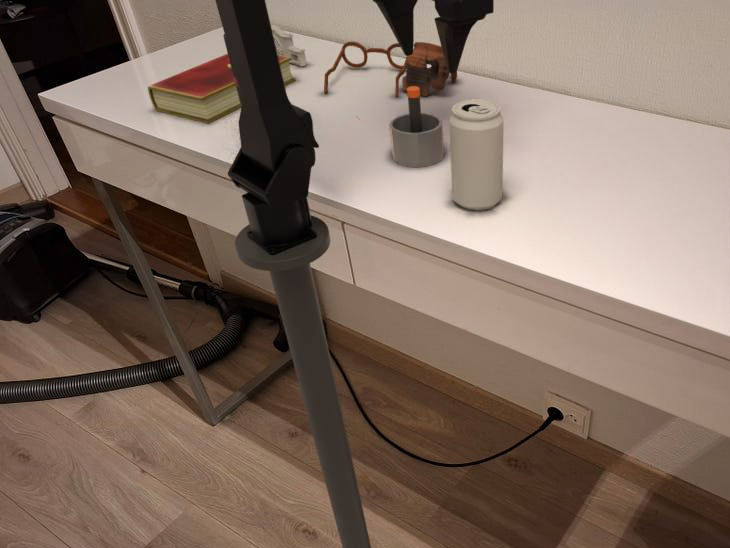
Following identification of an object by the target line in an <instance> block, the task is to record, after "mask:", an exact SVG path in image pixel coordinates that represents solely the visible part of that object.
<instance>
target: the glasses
mask: <svg viewBox="0 0 730 548" xmlns="http://www.w3.org/2000/svg"><path fill="white" fill-rule="evenodd" d="M351 46H353V47H357V48H358V49H359V50H361V51H362V53H363V61H362V62H360V63H354V62H351V60H349V59H348V58H347V55H346V49H347V48H348V47H351ZM396 48H401V47H400V45H399V43H398V42H396V43H392V44H391V45H389V46H388V47H387V49H385V48H381V47H369V48H366V47H365V46H364V45H363V44H361V43H360V42H357V41H346V42H344V44H343V45H342V46H341V49H340V51H339V54H338V55H337V56H336V57H337V58H336V59H335V61H334V64H333V65H332V67H331V68H328V70H327V71H326V72H325V73H324V83H323V93H324V94H328V92H329V91H328V89H329V76H330V75H331V74H332V73H333V72H335V71H336V70H337V69H338V66H339V64H340V62H341V60H342V59H343V61H344V63H345V64H346V65H348V66H349V67H352V68H355V69H360V68H363V67H365V66H366V65H367V62H368V54H369V53H381V54H385V55H386V58H387V60H388V63H389V64H390V65H391V66H392V67H393V68H395V69H397V70H400V71H399V72H398V73H397V74H396V76H395V84H394V85H395V91H394V92H395V93H394V95H395V98H398V97H399V91H400V90H399V88H400V87H399V86H400V79H401V77H402V76H403V75H405V74H406V70H407V69H406V67H407V64H408V63H407V61H406V60H407V59H406V58H405V61H404V64H403V65H400V64H397V63H395V62H394V60H393V59H392V55H391V52H392V50H393V49H396Z"/></svg>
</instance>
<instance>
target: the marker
mask: <svg viewBox="0 0 730 548" xmlns="http://www.w3.org/2000/svg"><path fill="white" fill-rule="evenodd" d="M406 95H407V103H408V114H409V116H410V129H411V133H419V132H422V120H421V113H422V109H421V108H422V107H421V95H420V88H419V87H417V86H411V87H408V88H407V91H406Z"/></svg>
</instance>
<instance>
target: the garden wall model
mask: <svg viewBox="0 0 730 548" xmlns="http://www.w3.org/2000/svg"><path fill="white" fill-rule="evenodd" d="M271 28H272V33H273V37H274V41H275V46H276V50H277V54H278V55H281V56H286V57H291V59H292V60H290V61H289V64H293V65H296V66H299V67H305V66H307V59H306V53H305V52H306V49H305V48H299V47H296V45H294V39H293V38H294V34H292V33H290V32H289V33H288V32H286V31H284V30H283V29H282V27H280V26H278V25H277V24H271Z"/></svg>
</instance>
